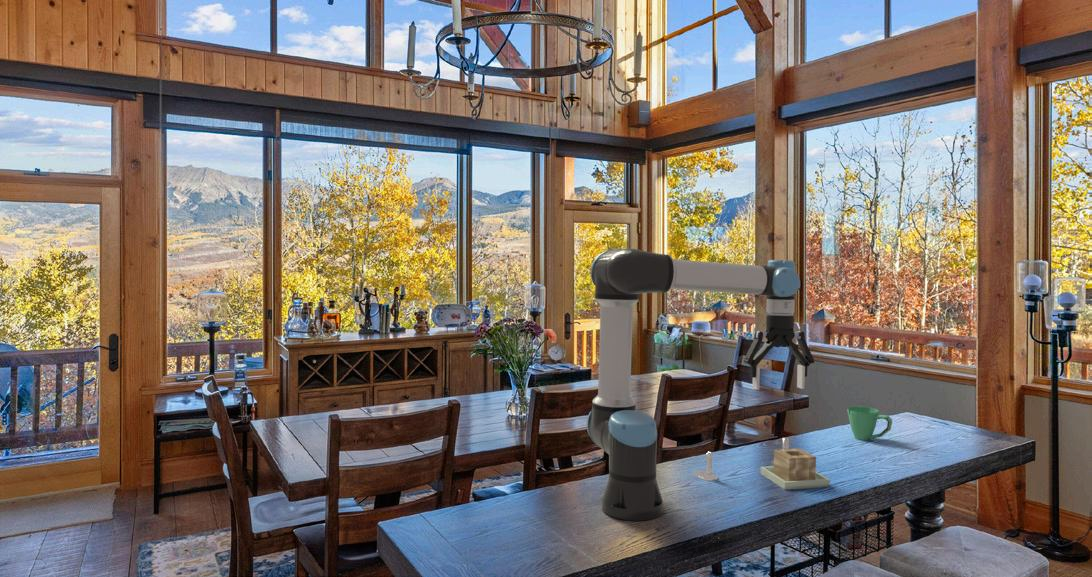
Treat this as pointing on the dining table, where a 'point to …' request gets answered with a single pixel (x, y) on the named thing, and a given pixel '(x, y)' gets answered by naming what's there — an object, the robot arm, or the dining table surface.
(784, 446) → the gauge post
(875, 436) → the mug
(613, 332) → the robot arm
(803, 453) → the bored block
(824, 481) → the tray
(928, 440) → the dining table surface
